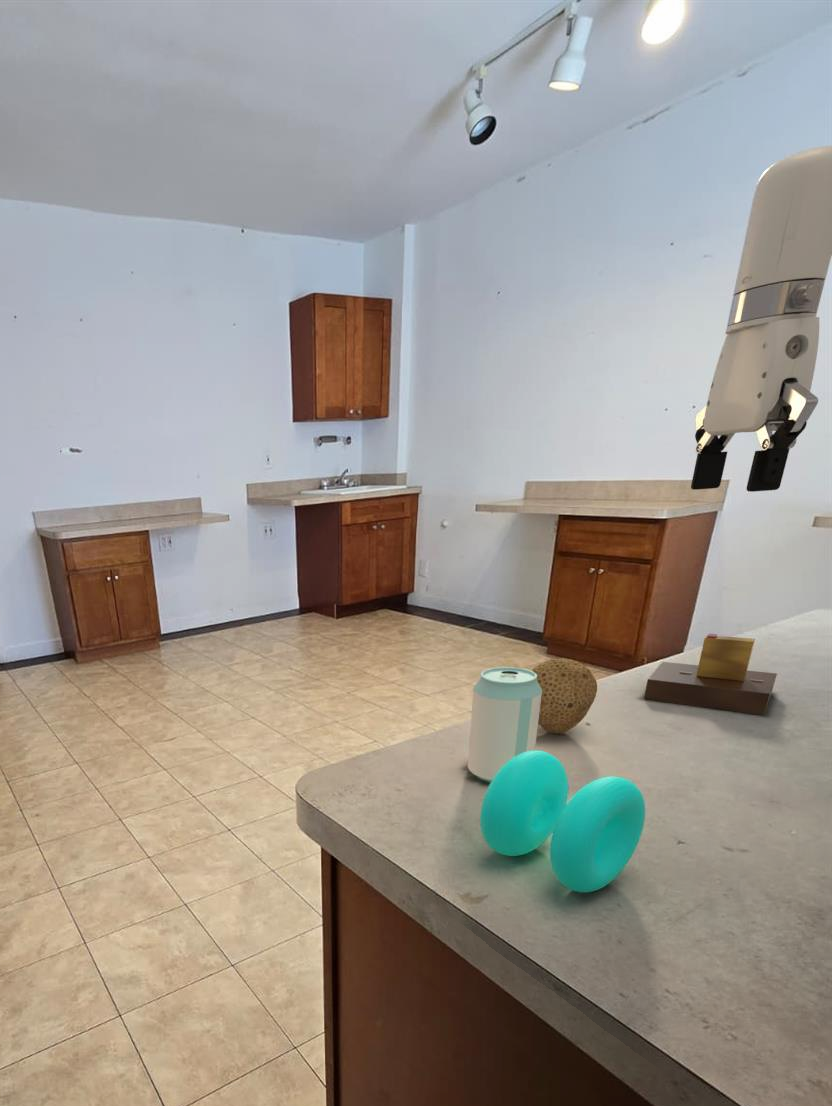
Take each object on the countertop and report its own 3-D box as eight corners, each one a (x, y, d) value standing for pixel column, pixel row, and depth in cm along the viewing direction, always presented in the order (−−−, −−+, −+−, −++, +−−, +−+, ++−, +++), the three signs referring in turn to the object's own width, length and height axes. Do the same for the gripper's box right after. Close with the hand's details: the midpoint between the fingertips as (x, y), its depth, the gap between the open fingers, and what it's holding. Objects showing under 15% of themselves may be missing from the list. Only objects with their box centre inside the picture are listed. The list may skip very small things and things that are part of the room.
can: (456, 765, 77) (462, 669, 72) (509, 757, 78) (519, 661, 73) (487, 790, 70) (496, 687, 65) (544, 781, 72) (558, 678, 67)
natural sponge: (522, 746, 80) (531, 670, 76) (506, 721, 88) (513, 651, 84) (599, 745, 79) (612, 667, 75) (575, 719, 87) (585, 648, 83)
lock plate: (771, 693, 90) (777, 672, 89) (764, 715, 84) (770, 692, 82) (658, 680, 99) (662, 660, 98) (643, 699, 92) (647, 678, 91)
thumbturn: (745, 677, 88) (755, 636, 86) (743, 681, 87) (754, 640, 85) (698, 672, 92) (707, 633, 89) (696, 675, 91) (705, 636, 88)
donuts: (538, 827, 63) (550, 733, 59) (640, 872, 55) (662, 768, 51) (469, 862, 58) (477, 764, 54) (569, 917, 51) (588, 807, 46)
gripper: (883, 285, 58) (825, 489, 65) (750, 325, 74) (716, 486, 81) (799, 292, 58) (751, 494, 66) (685, 330, 74) (656, 490, 81)
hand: (731, 489), depth 73 cm, fingers open, 9 cm apart
